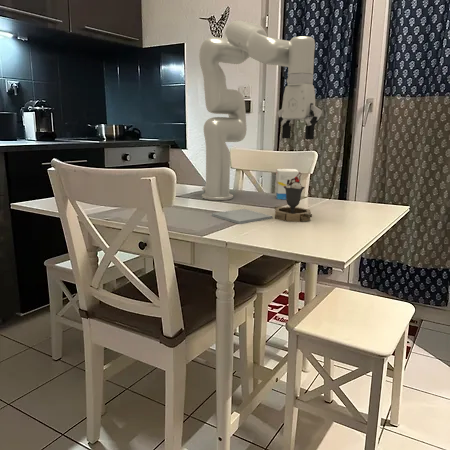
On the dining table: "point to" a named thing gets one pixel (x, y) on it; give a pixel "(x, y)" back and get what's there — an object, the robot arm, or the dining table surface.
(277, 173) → the ink box
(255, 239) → the dining table surface
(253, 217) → the plate
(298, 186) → the sundae
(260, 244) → the dining table surface
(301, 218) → the collar
